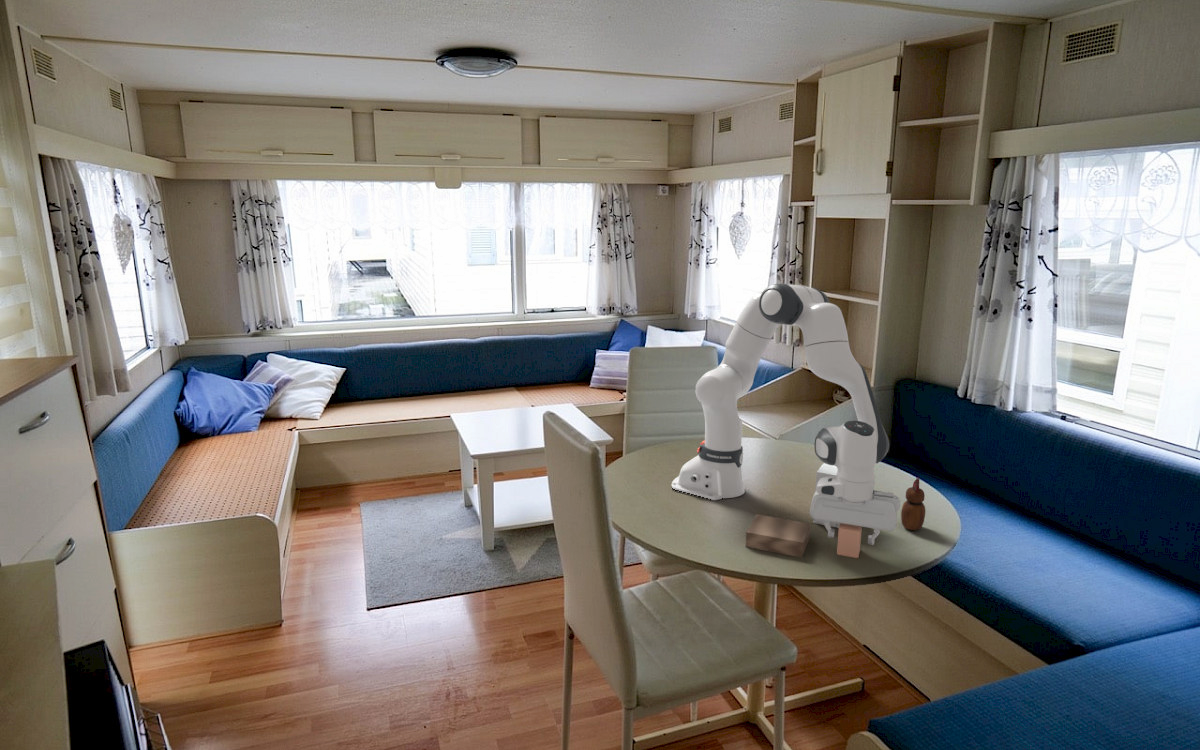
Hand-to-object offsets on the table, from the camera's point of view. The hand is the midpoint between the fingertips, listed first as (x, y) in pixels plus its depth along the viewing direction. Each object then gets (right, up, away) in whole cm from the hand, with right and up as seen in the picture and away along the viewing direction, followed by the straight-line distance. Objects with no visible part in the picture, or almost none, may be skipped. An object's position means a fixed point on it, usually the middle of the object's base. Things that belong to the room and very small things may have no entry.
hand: (850, 540), depth 172 cm
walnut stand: (-17, -2, +6) cm, 18 cm away
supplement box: (+2, +1, +19) cm, 19 cm away
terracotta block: (0, -3, +1) cm, 3 cm away
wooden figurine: (+22, 0, +14) cm, 26 cm away
